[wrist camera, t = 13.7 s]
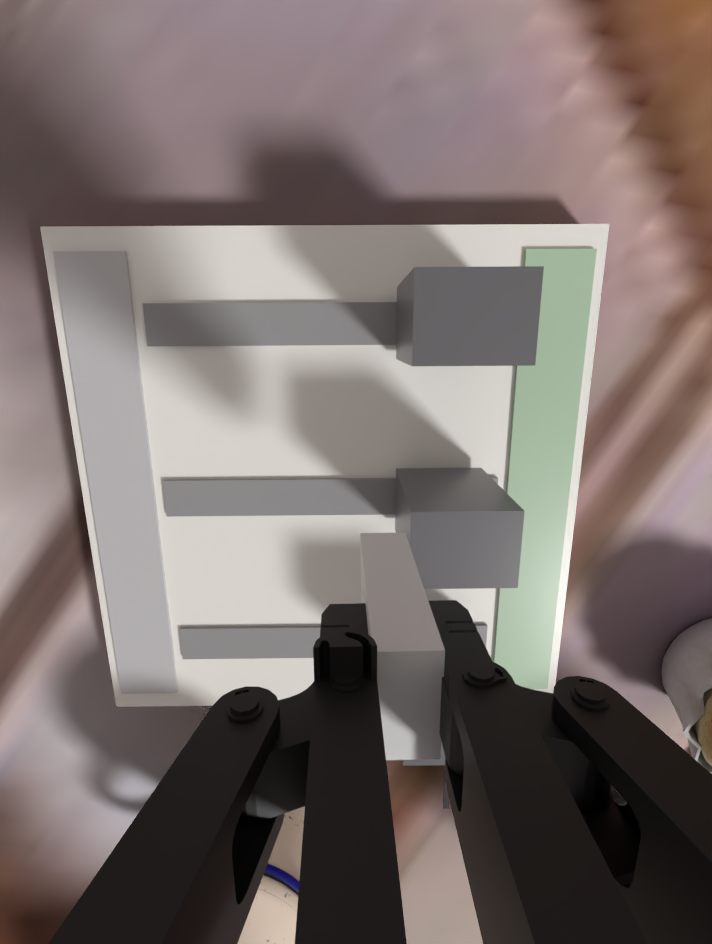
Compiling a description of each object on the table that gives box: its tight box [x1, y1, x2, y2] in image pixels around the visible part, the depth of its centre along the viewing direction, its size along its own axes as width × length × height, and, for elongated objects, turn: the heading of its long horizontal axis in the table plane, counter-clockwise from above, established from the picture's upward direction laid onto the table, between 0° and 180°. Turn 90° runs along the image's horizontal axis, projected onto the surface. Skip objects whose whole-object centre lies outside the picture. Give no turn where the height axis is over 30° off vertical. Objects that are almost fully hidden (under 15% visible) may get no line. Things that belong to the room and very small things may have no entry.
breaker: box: [396, 266, 544, 366], centre depth 19 cm, size 4×3×6 cm
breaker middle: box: [395, 468, 525, 589], centre depth 21 cm, size 4×3×6 cm
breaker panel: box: [40, 224, 609, 707], centre depth 25 cm, size 24×24×2 cm
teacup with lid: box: [237, 806, 305, 944], centre depth 25 cm, size 12×9×12 cm
